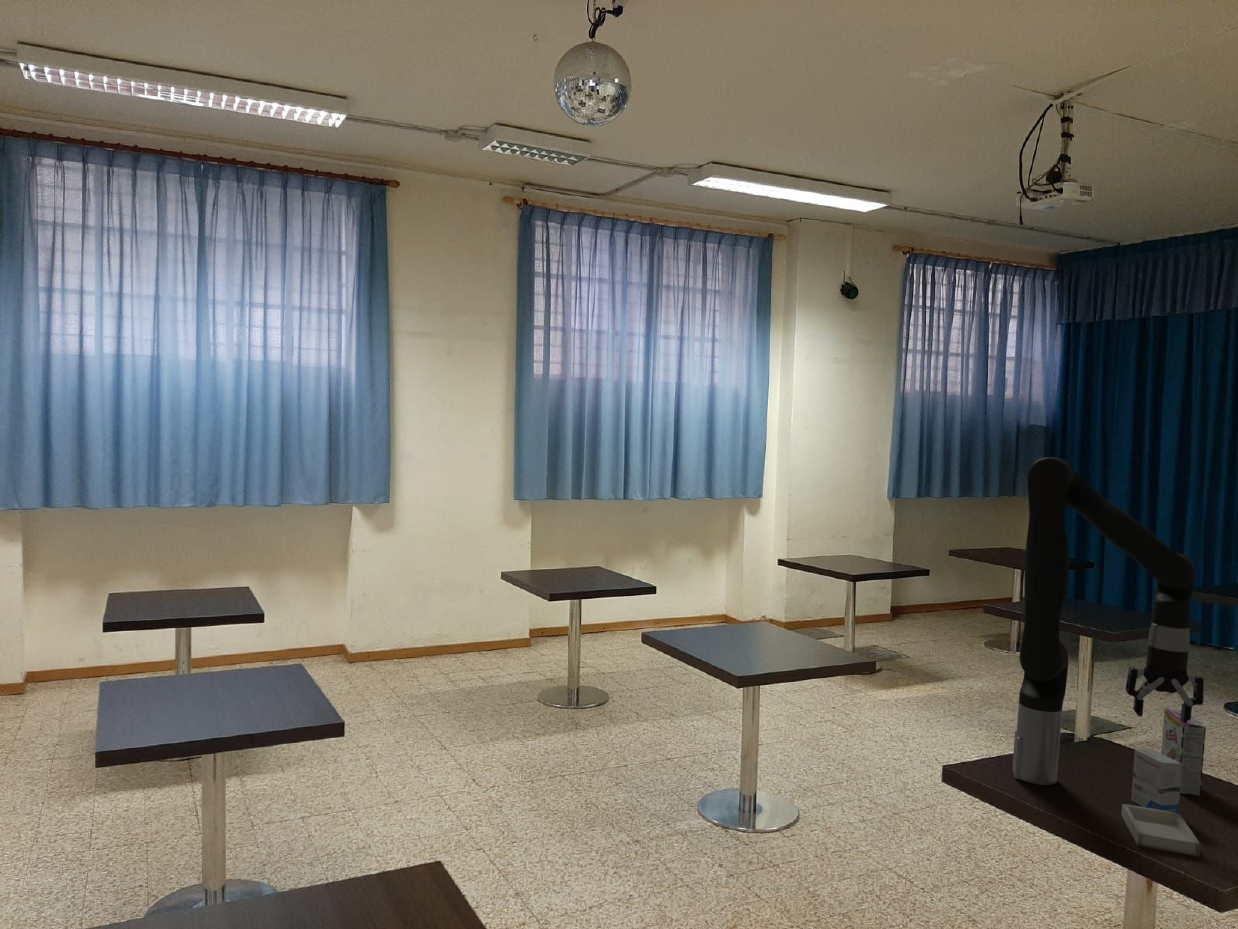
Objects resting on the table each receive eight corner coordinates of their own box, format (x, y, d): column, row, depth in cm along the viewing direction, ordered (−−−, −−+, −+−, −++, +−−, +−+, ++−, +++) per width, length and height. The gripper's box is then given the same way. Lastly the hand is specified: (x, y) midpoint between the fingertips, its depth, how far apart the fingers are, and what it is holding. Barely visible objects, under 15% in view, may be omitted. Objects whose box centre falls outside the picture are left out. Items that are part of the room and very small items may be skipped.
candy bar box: (1157, 775, 212) (1163, 708, 211) (1180, 777, 211) (1186, 710, 210) (1177, 794, 201) (1183, 723, 200) (1201, 797, 200) (1207, 726, 199)
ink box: (1179, 817, 189) (1184, 763, 188) (1159, 817, 188) (1163, 764, 187) (1149, 799, 197) (1153, 748, 197) (1129, 800, 196) (1133, 748, 196)
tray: (1137, 845, 174) (1138, 833, 174) (1121, 815, 188) (1122, 803, 188) (1199, 856, 171) (1200, 844, 171) (1178, 824, 185) (1179, 813, 185)
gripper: (1135, 645, 189) (1128, 719, 190) (1212, 654, 185) (1204, 729, 186) (1127, 637, 196) (1120, 708, 197) (1200, 645, 192) (1193, 718, 193)
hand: (1161, 718), depth 192 cm, fingers open, 8 cm apart
